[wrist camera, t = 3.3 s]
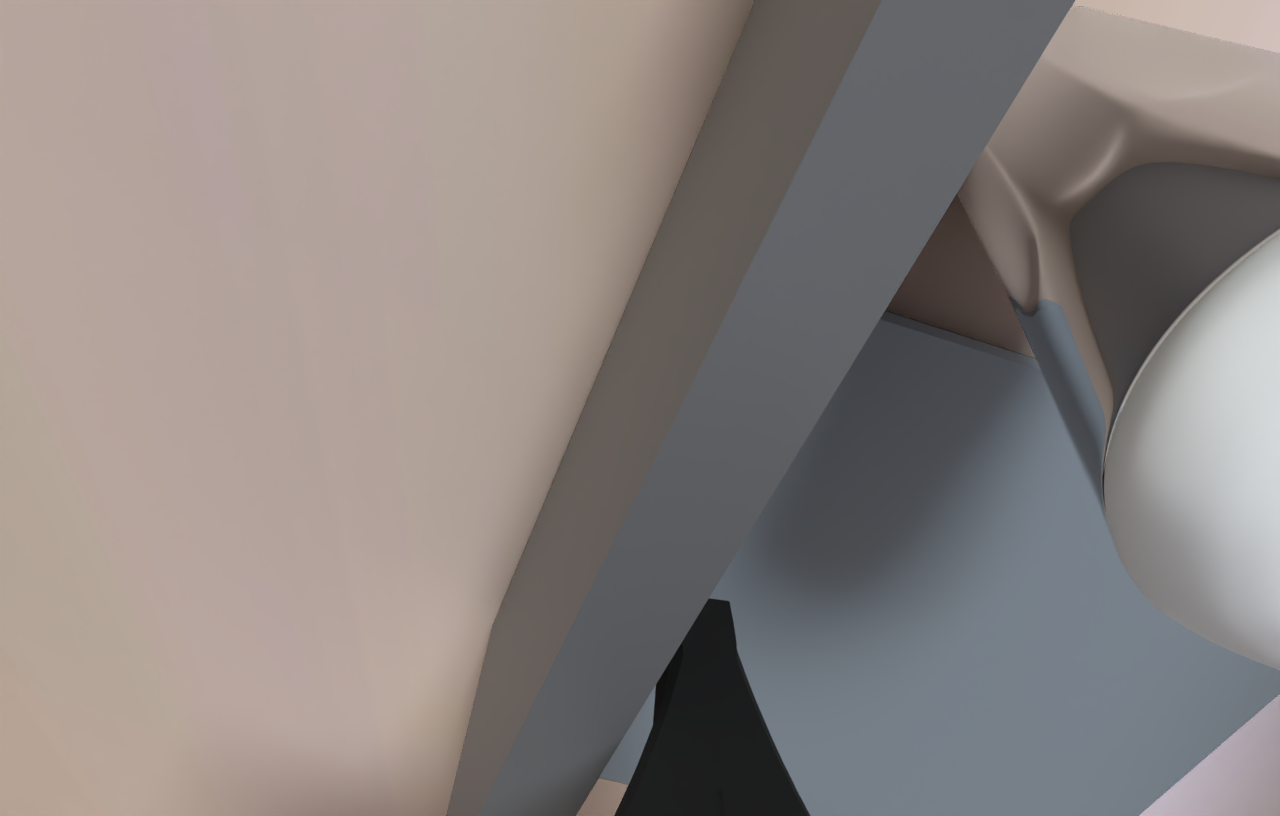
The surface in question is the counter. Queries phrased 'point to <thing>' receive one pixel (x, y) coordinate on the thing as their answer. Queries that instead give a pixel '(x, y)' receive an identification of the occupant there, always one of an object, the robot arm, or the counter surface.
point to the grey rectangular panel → (732, 357)
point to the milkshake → (1155, 299)
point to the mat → (960, 609)
